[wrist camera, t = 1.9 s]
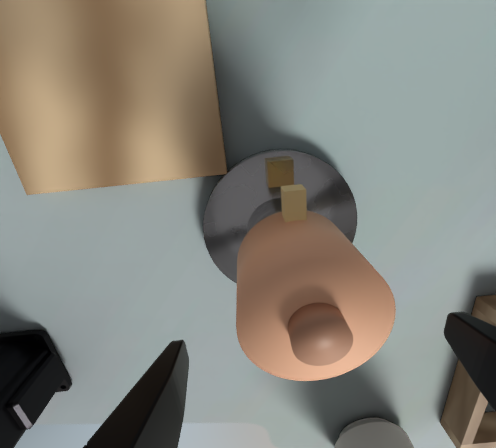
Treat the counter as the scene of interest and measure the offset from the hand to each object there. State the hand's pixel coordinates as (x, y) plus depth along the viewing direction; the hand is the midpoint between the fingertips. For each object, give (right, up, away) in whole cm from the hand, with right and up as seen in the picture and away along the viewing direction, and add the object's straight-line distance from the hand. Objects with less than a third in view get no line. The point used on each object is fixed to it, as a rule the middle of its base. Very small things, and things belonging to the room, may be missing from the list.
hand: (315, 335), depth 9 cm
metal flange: (0, +4, +9) cm, 10 cm away
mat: (-10, +12, +5) cm, 17 cm away
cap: (0, +2, +4) cm, 5 cm away
